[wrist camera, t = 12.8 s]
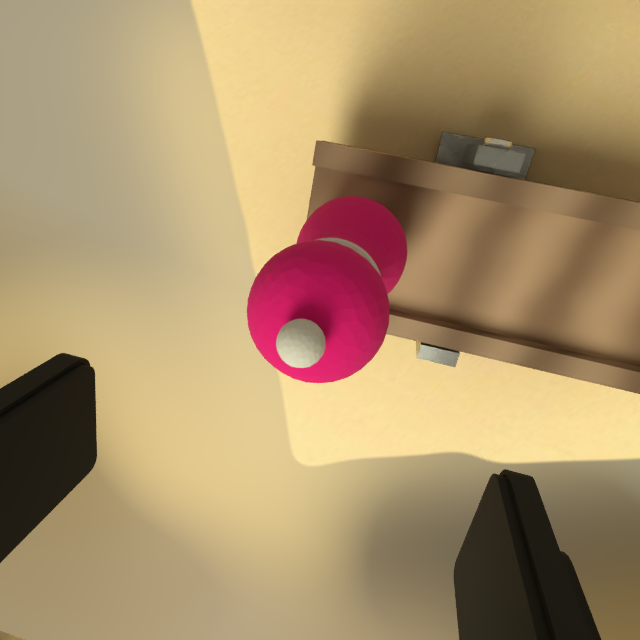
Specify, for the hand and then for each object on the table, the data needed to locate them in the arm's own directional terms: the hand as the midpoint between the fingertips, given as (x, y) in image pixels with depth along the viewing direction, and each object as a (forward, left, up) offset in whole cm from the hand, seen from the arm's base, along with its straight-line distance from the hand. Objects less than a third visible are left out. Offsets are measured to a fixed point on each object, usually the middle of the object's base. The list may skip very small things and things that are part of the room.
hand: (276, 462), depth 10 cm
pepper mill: (+1, 0, -26) cm, 26 cm away
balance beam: (-9, 0, -27) cm, 28 cm away
